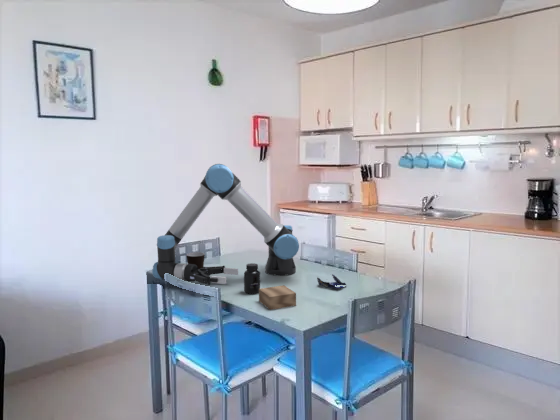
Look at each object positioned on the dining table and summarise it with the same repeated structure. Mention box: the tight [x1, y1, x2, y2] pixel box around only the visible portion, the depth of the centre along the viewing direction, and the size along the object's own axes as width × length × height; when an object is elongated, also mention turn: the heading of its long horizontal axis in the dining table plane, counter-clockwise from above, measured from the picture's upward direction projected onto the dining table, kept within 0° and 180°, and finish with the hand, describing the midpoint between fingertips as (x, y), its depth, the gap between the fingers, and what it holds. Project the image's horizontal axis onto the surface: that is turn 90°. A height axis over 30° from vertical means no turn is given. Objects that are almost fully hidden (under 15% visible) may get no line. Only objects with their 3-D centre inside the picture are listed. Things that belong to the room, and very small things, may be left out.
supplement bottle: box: [243, 262, 261, 295], centre depth 191 cm, size 7×7×12 cm
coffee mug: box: [185, 251, 206, 269], centre depth 219 cm, size 12×9×10 cm
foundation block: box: [258, 285, 297, 311], centre depth 177 cm, size 11×11×5 cm
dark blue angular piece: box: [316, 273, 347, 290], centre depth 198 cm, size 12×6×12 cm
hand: (232, 276), depth 193 cm, fingers open, 13 cm apart
